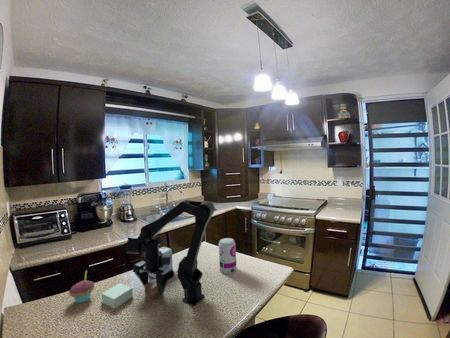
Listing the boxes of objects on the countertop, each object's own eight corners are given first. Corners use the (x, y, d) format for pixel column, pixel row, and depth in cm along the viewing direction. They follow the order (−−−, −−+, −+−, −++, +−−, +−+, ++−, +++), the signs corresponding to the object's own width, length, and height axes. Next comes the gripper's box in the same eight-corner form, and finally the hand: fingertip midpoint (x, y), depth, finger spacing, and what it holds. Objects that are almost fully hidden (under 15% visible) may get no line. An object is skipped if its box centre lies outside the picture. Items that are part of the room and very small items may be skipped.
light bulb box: (155, 279, 101) (154, 256, 100) (147, 275, 105) (145, 253, 104) (173, 269, 109) (172, 248, 109) (165, 266, 113) (164, 246, 113)
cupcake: (92, 290, 94) (90, 263, 93) (97, 299, 88) (95, 270, 87) (68, 300, 88) (66, 271, 87) (72, 309, 82) (69, 279, 81)
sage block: (132, 297, 88) (132, 287, 88) (114, 309, 81) (113, 299, 81) (120, 292, 92) (120, 283, 92) (102, 303, 85) (101, 293, 85)
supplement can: (239, 268, 107) (238, 239, 107) (231, 276, 100) (229, 244, 100) (225, 265, 112) (224, 236, 111) (216, 272, 105) (215, 242, 104)
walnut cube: (163, 293, 89) (162, 282, 89) (153, 300, 85) (152, 288, 85) (154, 290, 92) (154, 279, 92) (145, 297, 88) (144, 285, 88)
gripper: (182, 250, 90) (184, 287, 90) (152, 243, 100) (154, 276, 100) (161, 261, 80) (164, 302, 81) (131, 252, 90) (133, 288, 91)
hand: (154, 291), depth 89 cm, fingers open, 9 cm apart
